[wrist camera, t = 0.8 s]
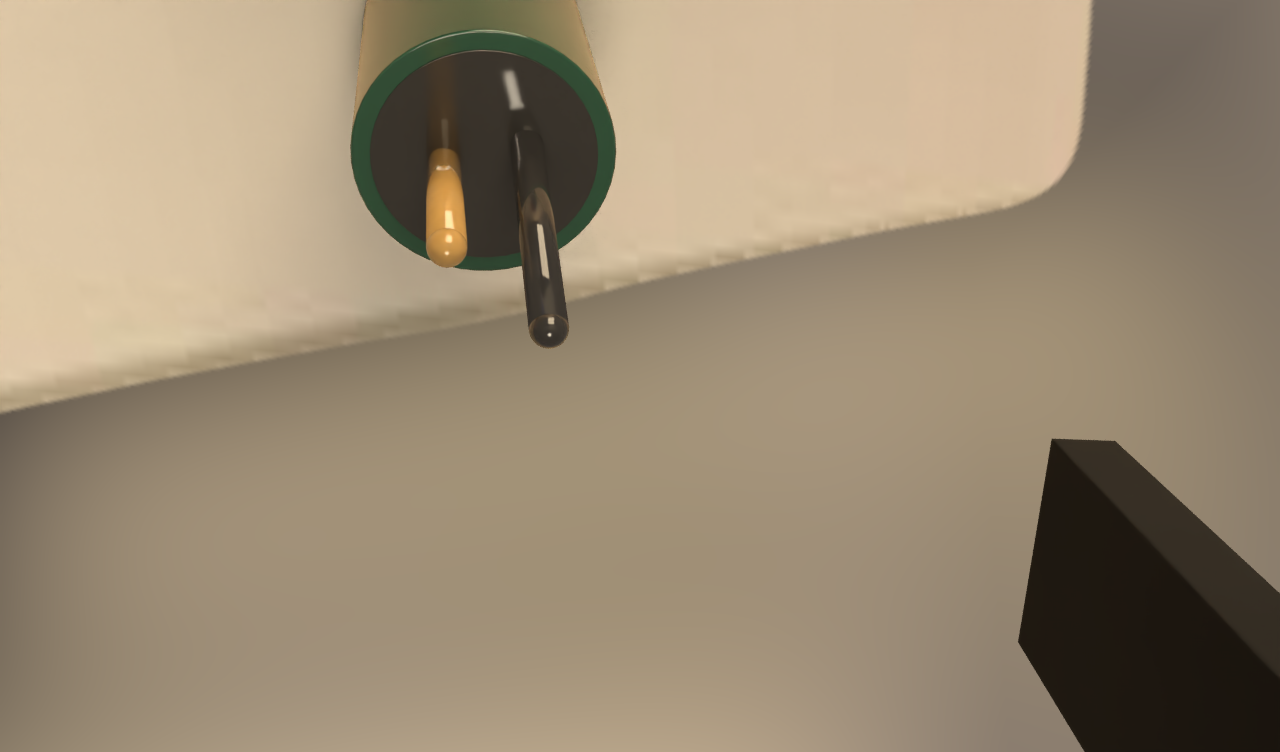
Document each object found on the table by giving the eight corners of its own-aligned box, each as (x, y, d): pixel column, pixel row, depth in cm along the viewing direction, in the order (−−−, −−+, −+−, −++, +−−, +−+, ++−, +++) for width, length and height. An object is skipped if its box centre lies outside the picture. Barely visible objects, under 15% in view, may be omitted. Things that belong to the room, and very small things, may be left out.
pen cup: (321, 58, 39) (271, 348, 26) (442, -124, 36) (456, 97, 23) (499, 171, 42) (535, 479, 29) (623, 12, 39) (725, 273, 26)
